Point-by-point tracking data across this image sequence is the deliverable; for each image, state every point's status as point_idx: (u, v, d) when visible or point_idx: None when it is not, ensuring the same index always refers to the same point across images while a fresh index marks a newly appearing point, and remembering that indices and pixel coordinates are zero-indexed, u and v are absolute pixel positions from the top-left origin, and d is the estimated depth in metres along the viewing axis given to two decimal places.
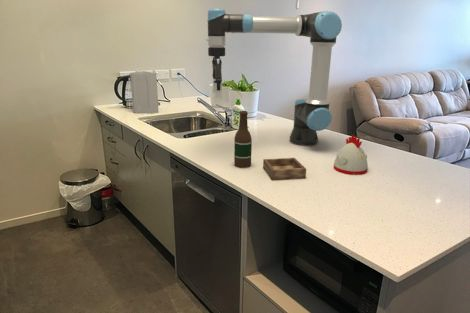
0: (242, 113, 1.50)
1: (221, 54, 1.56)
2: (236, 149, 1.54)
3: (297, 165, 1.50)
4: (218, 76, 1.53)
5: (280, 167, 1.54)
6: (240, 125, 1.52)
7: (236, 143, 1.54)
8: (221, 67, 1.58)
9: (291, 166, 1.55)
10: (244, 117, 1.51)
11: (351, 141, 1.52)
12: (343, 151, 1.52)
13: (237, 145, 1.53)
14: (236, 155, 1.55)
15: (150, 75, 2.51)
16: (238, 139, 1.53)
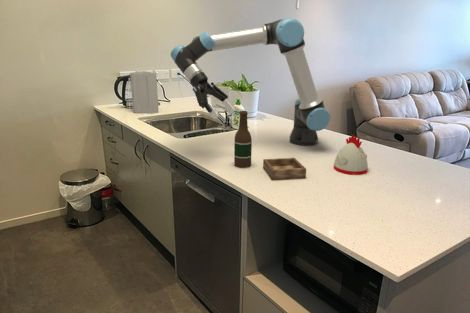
0: (242, 113, 1.50)
1: (198, 80, 1.55)
2: (236, 149, 1.54)
3: (297, 165, 1.50)
4: (199, 100, 1.50)
5: (280, 167, 1.54)
6: (240, 125, 1.52)
7: (236, 143, 1.54)
8: (205, 90, 1.54)
9: (291, 166, 1.55)
10: (244, 117, 1.51)
11: (351, 141, 1.52)
12: (343, 151, 1.52)
13: (237, 145, 1.53)
14: (236, 155, 1.55)
15: (150, 75, 2.51)
16: (238, 139, 1.53)
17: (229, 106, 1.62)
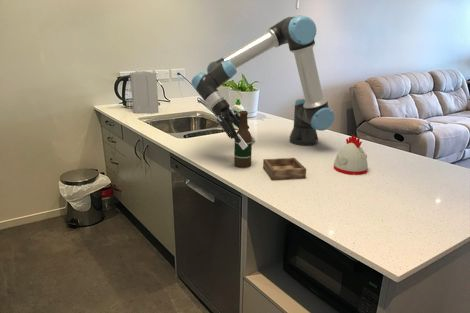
0: (242, 113, 1.50)
1: (220, 108, 1.53)
2: (236, 149, 1.54)
3: (297, 165, 1.50)
4: (227, 132, 1.50)
5: (280, 167, 1.54)
6: (240, 125, 1.52)
7: (236, 143, 1.54)
8: (229, 119, 1.52)
9: (291, 166, 1.55)
10: (244, 117, 1.51)
11: (351, 141, 1.52)
12: (343, 151, 1.52)
13: (237, 144, 1.53)
14: (236, 155, 1.55)
15: (150, 75, 2.51)
16: None
17: (251, 137, 1.58)
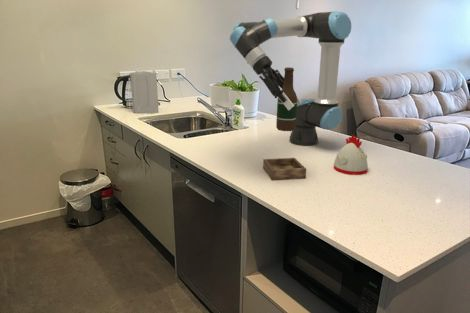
0: (288, 69, 1.36)
1: (263, 64, 1.38)
2: (280, 110, 1.40)
3: (297, 165, 1.50)
4: (272, 90, 1.35)
5: (280, 167, 1.54)
6: (285, 83, 1.38)
7: (280, 103, 1.39)
8: (273, 77, 1.38)
9: (291, 166, 1.55)
10: (290, 74, 1.36)
11: (351, 141, 1.52)
12: (343, 151, 1.52)
13: (282, 105, 1.39)
14: (280, 117, 1.41)
15: (150, 75, 2.51)
16: None
17: None
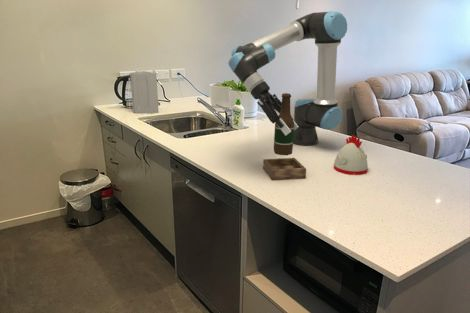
0: (285, 95, 1.38)
1: (261, 90, 1.41)
2: (277, 135, 1.43)
3: (297, 165, 1.50)
4: (269, 116, 1.38)
5: (280, 167, 1.54)
6: (282, 108, 1.40)
7: (277, 128, 1.42)
8: (270, 102, 1.41)
9: (291, 166, 1.55)
10: (287, 100, 1.39)
11: (351, 141, 1.52)
12: (343, 151, 1.52)
13: (279, 130, 1.41)
14: (277, 141, 1.43)
15: (150, 75, 2.51)
16: None
17: None
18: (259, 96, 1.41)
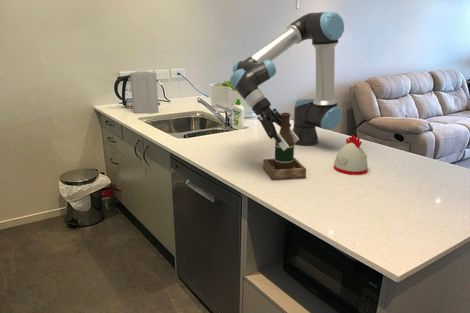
0: (284, 115, 1.42)
1: (262, 107, 1.44)
2: (278, 153, 1.46)
3: (297, 165, 1.50)
4: (268, 131, 1.39)
5: None
6: (282, 127, 1.44)
7: (278, 147, 1.45)
8: (270, 118, 1.43)
9: None
10: (286, 119, 1.43)
11: (351, 141, 1.52)
12: (343, 151, 1.52)
13: (279, 148, 1.45)
14: (278, 160, 1.47)
15: (150, 75, 2.51)
16: None
17: (293, 135, 1.50)
18: (260, 112, 1.44)
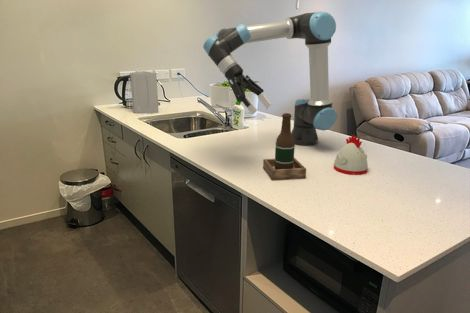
0: (286, 116, 1.41)
1: (234, 72, 1.46)
2: (278, 154, 1.46)
3: (297, 165, 1.50)
4: (237, 94, 1.41)
5: None
6: (283, 128, 1.43)
7: (278, 147, 1.45)
8: (241, 83, 1.45)
9: None
10: (288, 120, 1.42)
11: (351, 141, 1.52)
12: (343, 151, 1.52)
13: (280, 149, 1.44)
14: (278, 160, 1.46)
15: (150, 75, 2.51)
16: (281, 144, 1.44)
17: (265, 100, 1.53)
18: None
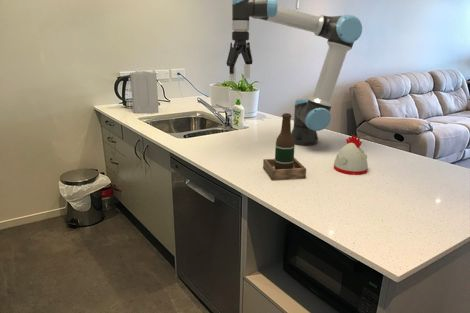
0: (286, 116, 1.41)
1: (240, 38, 1.57)
2: (278, 154, 1.46)
3: (297, 165, 1.50)
4: (229, 59, 1.55)
5: None
6: (283, 128, 1.43)
7: (278, 148, 1.45)
8: (239, 51, 1.58)
9: None
10: (288, 120, 1.42)
11: (351, 141, 1.52)
12: (343, 151, 1.52)
13: (280, 149, 1.44)
14: (278, 160, 1.46)
15: (150, 75, 2.51)
16: (281, 144, 1.44)
17: (247, 72, 1.70)
18: (236, 41, 1.58)
